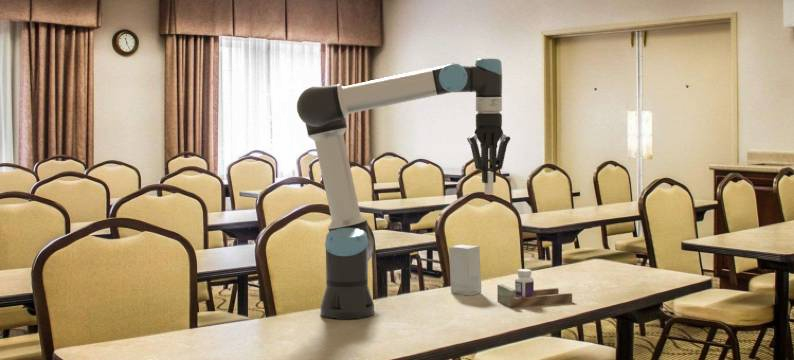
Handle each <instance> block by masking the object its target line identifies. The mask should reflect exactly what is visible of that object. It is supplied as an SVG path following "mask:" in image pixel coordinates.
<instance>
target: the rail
mask: <svg viewBox="0 0 794 360" xmlns="http://www.w3.org/2000/svg"><path fill="white" fill-rule="evenodd" d="M559 291H560V290H559V288H557V287H555V288H551V287H550V288H542V289H541V288H540V289H534V296H531V297H520V298H516V290H515V288H511V287H510V286H507V285H504V284H497V302H498V303H500V304H502V305H505V306H507V307H509V308H520V307H521V308H522V307H534V306H544V305H554V304H566V303H573V293H572V292H568V293H567V292H566V293H560V292H559Z"/></svg>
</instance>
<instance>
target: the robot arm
mask: <svg viewBox="0 0 794 360" xmlns="http://www.w3.org/2000/svg"><path fill="white" fill-rule="evenodd" d="M502 69H503V67H502V61H501V59H499V58H478V59H476V60H475V64H474V65H469V66H467V65H461V64H459V63H455V62H451V63H448V64H445V65H441V66H436V67H434V68H427V69H422V70H418V71H412V72H408V73H403V74H398V75H393V76H389V77H384V78H380V79H379V78H378V79H374V80H369V81H365V82H360V83H356V84H355V83H354V84H350V85H347V86H343V85H342V84H340V83H337V84H333V85H332V84H331V85H326V86H325V85H324V86H319V85H316V86H310V87H308V88H307V89H305V90H303V92H301V94H300V95H299V97H298V99H297V102H296V112H297V114H298V116H299V118H300V119H301V121H302V122H303V123H304V124H305V128H306V132H307V136H308V138H309V139H311V140H313V141H314V145H315V148H316V149H315V150H316V154H317V158H318V162H319V163H318V164H319V167H320V171H321V173H320V174H321V176H322V181H323V186H324V190H325V195H326V201H327V204H328V209H329V214H330V217H331V222H330V224H329V225H328V227H327V228H328V233H327V234H326V235H325V236H326V237H325V242H324V246H325V272H326V274H325V276H326V277H325V278H326V286H325V291H324V292H323V293H324V294H323V297H322V301H321V304H320V315H321V314H322V315H323V316H322V315H321V316H322V317H324V316H326V317H325V318H328V317H330V318H329V319H334V318H337V319H336V320H355V319H354V318H357V319H362V317H364V318H368V317H370V315H371V316H373V315H374V314H375V303H374V301H373V297H372V295H371V292H370V289H369V284H368V283H369V281H368V280H369V279H368V278H369V276H368V274H369V273H368V271H369V270H368V269H369V268H368V267H369V265H368V264H369V263H368V262H369V261H370V260H371V258H372V257H373V254H374V251H375V250H374V249H375V241H374V238H373V236H372V234H371V232H370V228H369V225H368V219H367V218H366V217H365V216H364V215H363V214H361V210H360V206H359V202H358V201H359V200H358V198H357V193H356V187H355V183H354V178H353V174H352V173H353V172H352V169H351V165H350V160H349V156H348V151H347V146H346V141H345V136H344V135H345V133H346V131H347V129H348V127H347V122H346V121H347V120H346V119H347V118H348V116H349V115H350V114H354V113H360V112H364V111H368V110H373V109H378V108H382V107H383V108H384V107H389V106H393V105H396V104H402V103H406V102H411V101H416V100H421V99H426V98H431V97H435V96H440V95H445V94H451V93H475V111H476V112H477V113H476V114H475V130H474V134H473V135H471V136H468V137H467V138H466V139H467V142H468V144H469V145H470V148H471V153H472V158H473V163H474V166H475V170H478V171H480V172H481V183H483V184H484V195H489V196H490V195H492V196H493V195H494V183H497V172H498V171H499V170H502V169H503V167H504V166H503V165H504V161H505V160H504V159H505V155H506V151H507V147H508V144H509V142H510V141H511V137H510V136H507V135H506V134H504V131H503V127H502V126H503V114H502V113H501V112H502V111H503V70H502ZM478 141H479V143H480V148H479V144H478ZM499 141H500V142H499ZM498 143H499V146H498ZM497 148H498V149H497ZM367 316H368V317H367Z"/></svg>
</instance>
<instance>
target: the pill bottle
mask: <svg viewBox="0 0 794 360" xmlns="http://www.w3.org/2000/svg"><path fill="white" fill-rule="evenodd" d="M517 275H518V276H517V277H515V279H514V284H515V285H514V287H515V288H514V289H515V290H516V298H520V297H531V296H534V290H535V289H534V278H533V277H532V269H527V268H522V269H521V268H520V269H517Z"/></svg>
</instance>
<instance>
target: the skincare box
mask: <svg viewBox="0 0 794 360" xmlns="http://www.w3.org/2000/svg"><path fill="white" fill-rule="evenodd" d="M480 251H481V250H480V245H469V244H468V245H467V244H456V245H453V246H448V252H449V253H448V255H449V274H450V275H449V277H450V280H449V282H450V293H451V294H458V295H462V296H463V295H464V296H473V295H479V294H482V272H481V254H480Z"/></svg>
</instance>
